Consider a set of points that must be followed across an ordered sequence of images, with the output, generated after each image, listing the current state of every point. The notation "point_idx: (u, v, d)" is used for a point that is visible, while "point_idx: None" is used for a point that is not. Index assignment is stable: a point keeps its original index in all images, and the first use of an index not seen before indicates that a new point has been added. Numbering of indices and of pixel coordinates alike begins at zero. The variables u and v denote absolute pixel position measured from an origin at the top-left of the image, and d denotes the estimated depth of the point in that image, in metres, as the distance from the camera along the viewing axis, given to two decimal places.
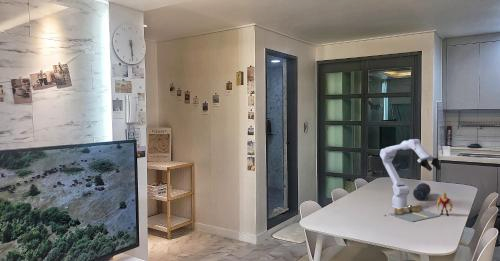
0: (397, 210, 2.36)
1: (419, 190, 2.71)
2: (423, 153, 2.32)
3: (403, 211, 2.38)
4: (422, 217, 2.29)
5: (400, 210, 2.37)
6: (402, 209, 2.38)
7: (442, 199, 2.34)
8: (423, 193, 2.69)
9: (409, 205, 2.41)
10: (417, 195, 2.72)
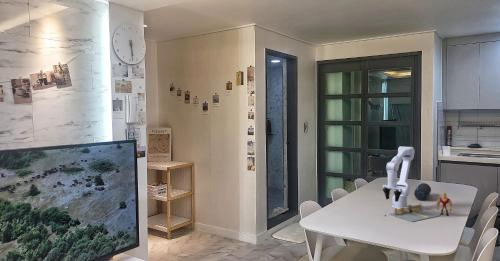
0: (397, 210, 2.36)
1: (420, 190, 2.71)
2: None
3: (403, 211, 2.38)
4: (422, 217, 2.29)
5: (400, 210, 2.37)
6: (402, 209, 2.38)
7: (442, 199, 2.34)
8: (424, 193, 2.69)
9: (409, 205, 2.41)
10: (418, 195, 2.71)
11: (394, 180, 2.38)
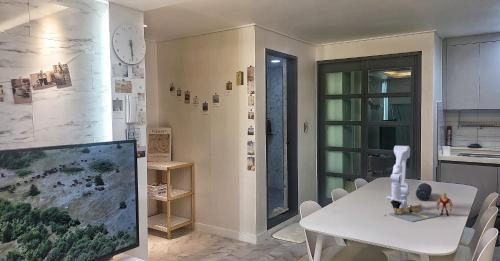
0: (397, 210, 2.36)
1: (422, 190, 2.70)
2: None
3: (403, 211, 2.38)
4: (422, 217, 2.29)
5: (400, 210, 2.37)
6: (402, 209, 2.38)
7: (442, 199, 2.34)
8: (426, 193, 2.69)
9: (409, 205, 2.41)
10: (420, 195, 2.71)
11: (399, 192, 2.35)
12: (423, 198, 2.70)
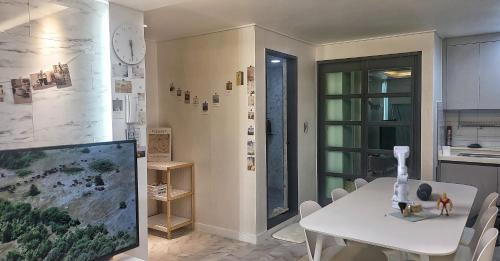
0: (405, 212, 2.31)
1: (423, 190, 2.70)
2: (398, 195, 2.34)
3: (408, 212, 2.36)
4: (422, 217, 2.29)
5: (406, 211, 2.34)
6: (407, 210, 2.35)
7: (442, 199, 2.34)
8: (427, 193, 2.69)
9: (409, 205, 2.41)
10: (421, 195, 2.71)
11: (406, 193, 2.31)
12: (424, 198, 2.70)
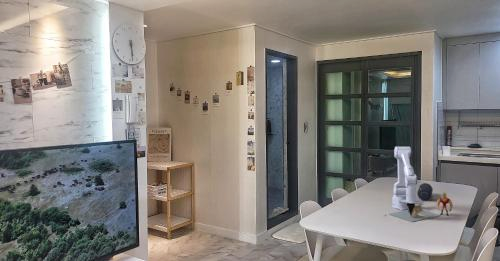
0: None
1: (424, 190, 2.70)
2: (407, 197, 2.29)
3: None
4: (422, 217, 2.29)
5: None
6: None
7: (442, 199, 2.34)
8: (428, 193, 2.68)
9: None
10: (422, 195, 2.71)
11: (415, 194, 2.29)
12: (425, 198, 2.70)
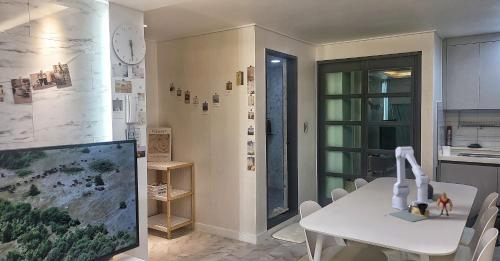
0: None
1: None
2: (422, 197, 2.28)
3: None
4: (422, 217, 2.29)
5: None
6: None
7: (442, 199, 2.34)
8: (430, 193, 2.68)
9: (409, 205, 2.41)
10: None
11: None
12: None
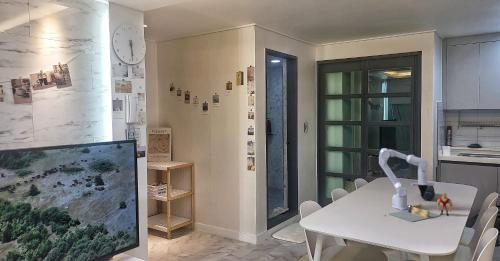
0: None
1: (427, 190, 2.69)
2: (420, 179, 2.47)
3: None
4: (422, 217, 2.29)
5: None
6: None
7: (442, 199, 2.34)
8: (431, 193, 2.68)
9: (409, 205, 2.41)
10: (425, 195, 2.70)
11: None
12: (428, 198, 2.69)
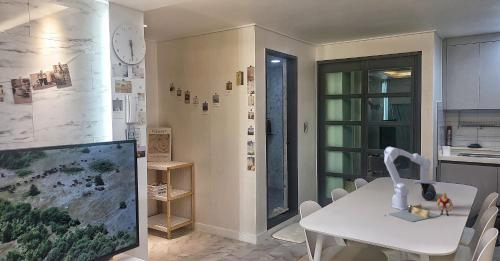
0: None
1: (429, 190, 2.69)
2: (422, 177, 2.52)
3: None
4: (422, 217, 2.29)
5: None
6: None
7: (442, 199, 2.34)
8: (433, 193, 2.68)
9: (409, 205, 2.41)
10: (427, 195, 2.70)
11: None
12: (430, 198, 2.69)
